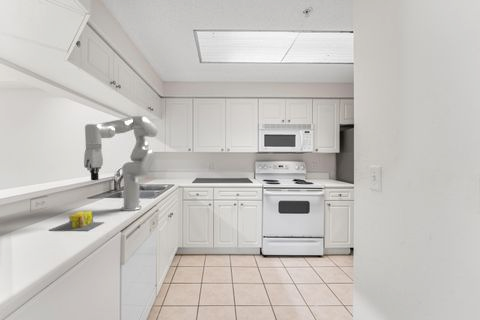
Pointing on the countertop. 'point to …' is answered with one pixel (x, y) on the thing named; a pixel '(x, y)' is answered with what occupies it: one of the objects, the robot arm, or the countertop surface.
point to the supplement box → (81, 219)
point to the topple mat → (85, 228)
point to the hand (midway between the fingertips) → (94, 180)
